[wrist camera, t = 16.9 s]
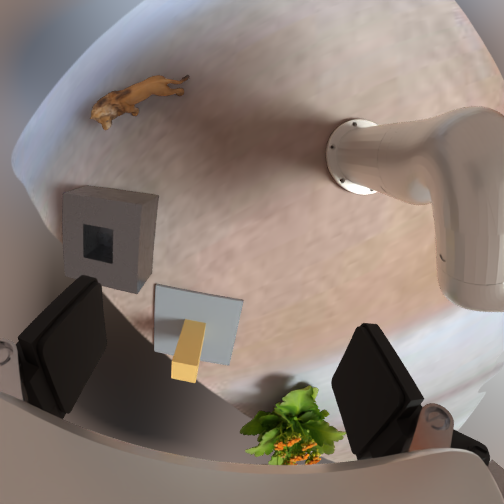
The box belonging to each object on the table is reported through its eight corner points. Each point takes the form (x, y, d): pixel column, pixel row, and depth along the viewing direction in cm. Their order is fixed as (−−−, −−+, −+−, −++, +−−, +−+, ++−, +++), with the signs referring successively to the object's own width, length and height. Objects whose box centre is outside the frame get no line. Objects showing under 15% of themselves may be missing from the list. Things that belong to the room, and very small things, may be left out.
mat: (243, 299, 50) (243, 301, 49) (229, 363, 55) (229, 365, 55) (156, 283, 49) (155, 285, 48) (154, 349, 54) (154, 351, 53)
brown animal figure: (119, 135, 39) (92, 133, 31) (107, 110, 38) (80, 104, 29) (196, 88, 37) (184, 74, 29) (182, 63, 36) (168, 45, 27)
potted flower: (358, 402, 62) (377, 453, 46) (293, 442, 68) (300, 490, 52) (295, 366, 56) (309, 430, 40) (227, 414, 62) (224, 472, 46)
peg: (206, 322, 51) (197, 366, 40) (203, 339, 52) (195, 382, 41) (185, 319, 51) (171, 361, 39) (183, 335, 52) (171, 378, 41)
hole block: (158, 195, 43) (142, 204, 36) (152, 272, 48) (137, 294, 40) (87, 185, 42) (62, 193, 34) (86, 258, 47) (65, 275, 39)
